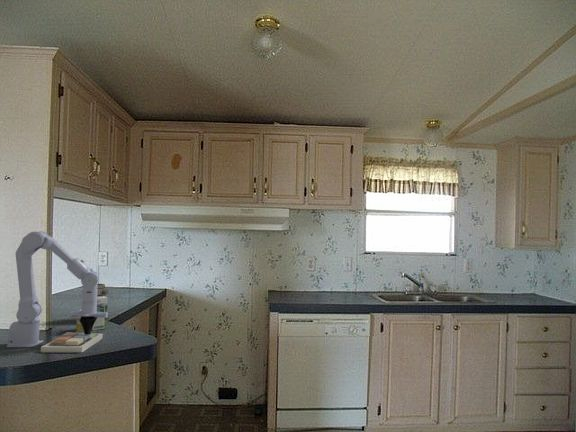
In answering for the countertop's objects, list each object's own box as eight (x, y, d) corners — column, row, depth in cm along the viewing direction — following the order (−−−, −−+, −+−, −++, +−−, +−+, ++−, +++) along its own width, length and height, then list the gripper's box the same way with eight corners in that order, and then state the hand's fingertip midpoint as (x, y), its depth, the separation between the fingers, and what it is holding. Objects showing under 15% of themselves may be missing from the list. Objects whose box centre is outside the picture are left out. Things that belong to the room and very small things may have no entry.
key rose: (61, 339, 149) (61, 335, 149) (67, 336, 154) (67, 332, 154) (73, 339, 150) (73, 335, 150) (78, 336, 154) (78, 332, 154)
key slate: (72, 341, 147) (72, 337, 147) (77, 338, 151) (78, 334, 151) (84, 342, 147) (84, 337, 147) (89, 338, 152) (89, 334, 152)
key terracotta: (54, 343, 144) (54, 339, 144) (60, 340, 148) (60, 336, 148) (66, 344, 144) (66, 339, 144) (71, 340, 148) (72, 336, 148)
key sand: (65, 346, 141) (65, 341, 141) (71, 342, 146) (71, 338, 146) (77, 346, 142) (78, 341, 142) (83, 342, 146) (83, 338, 146)
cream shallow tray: (40, 352, 139) (40, 346, 139) (66, 338, 158) (66, 333, 158) (81, 352, 140) (82, 347, 140) (102, 338, 159) (102, 333, 159)
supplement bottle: (86, 329, 172) (87, 307, 173) (91, 331, 169) (93, 309, 169) (73, 331, 168) (75, 309, 168) (79, 334, 165) (80, 311, 165)
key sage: (79, 341, 152) (79, 336, 152) (84, 338, 157) (84, 333, 157) (90, 341, 153) (90, 336, 153) (95, 338, 157) (95, 333, 157)
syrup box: (92, 330, 171) (94, 298, 171) (89, 327, 175) (91, 296, 176) (106, 328, 174) (108, 297, 175) (102, 326, 179) (104, 295, 179)
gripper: (65, 303, 151) (64, 337, 150) (103, 303, 152) (101, 338, 151) (74, 300, 158) (72, 333, 157) (110, 300, 159) (108, 333, 158)
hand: (87, 335), depth 155 cm, fingers closed, pressing on key sage
